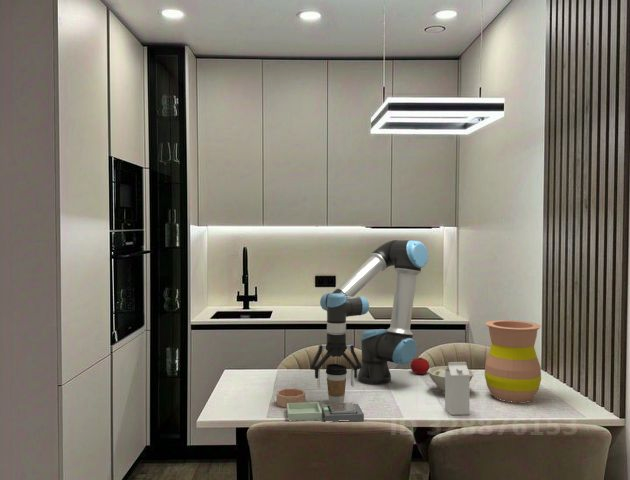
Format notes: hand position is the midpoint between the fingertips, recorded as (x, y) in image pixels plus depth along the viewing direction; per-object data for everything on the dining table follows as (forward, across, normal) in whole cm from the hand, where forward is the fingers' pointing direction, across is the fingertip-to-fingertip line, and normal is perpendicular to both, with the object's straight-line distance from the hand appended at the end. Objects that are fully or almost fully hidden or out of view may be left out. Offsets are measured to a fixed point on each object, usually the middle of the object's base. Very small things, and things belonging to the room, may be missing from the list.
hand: (335, 386), depth 221 cm
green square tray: (+7, +14, +12) cm, 19 cm away
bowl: (+6, -50, -9) cm, 52 cm away
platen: (+4, 0, +15) cm, 15 cm away
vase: (+6, -73, 0) cm, 74 cm away
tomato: (+6, -46, -40) cm, 62 cm away
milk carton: (+7, -44, +15) cm, 47 cm away
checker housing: (+7, 0, +15) cm, 16 cm away
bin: (+7, +18, -2) cm, 19 cm away
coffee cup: (+7, 0, 0) cm, 7 cm away
